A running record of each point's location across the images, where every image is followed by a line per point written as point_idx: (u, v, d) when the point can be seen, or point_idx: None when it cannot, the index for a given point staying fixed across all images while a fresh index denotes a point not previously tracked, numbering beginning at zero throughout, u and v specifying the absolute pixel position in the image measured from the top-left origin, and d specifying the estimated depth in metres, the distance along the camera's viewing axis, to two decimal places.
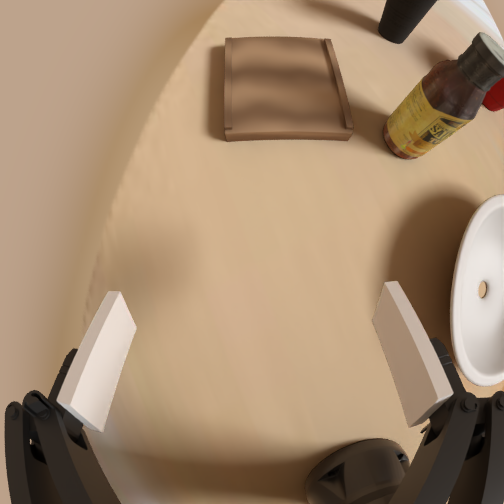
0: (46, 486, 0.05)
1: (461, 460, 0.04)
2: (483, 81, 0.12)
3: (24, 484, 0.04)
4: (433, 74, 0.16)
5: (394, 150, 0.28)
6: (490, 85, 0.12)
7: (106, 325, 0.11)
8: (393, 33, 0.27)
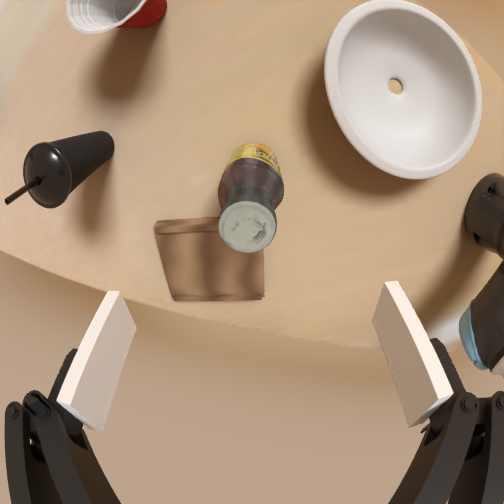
0: (46, 486, 0.05)
1: (461, 460, 0.04)
2: None
3: (24, 484, 0.04)
4: None
5: None
6: (271, 205, 0.21)
7: (106, 324, 0.11)
8: (108, 154, 0.32)
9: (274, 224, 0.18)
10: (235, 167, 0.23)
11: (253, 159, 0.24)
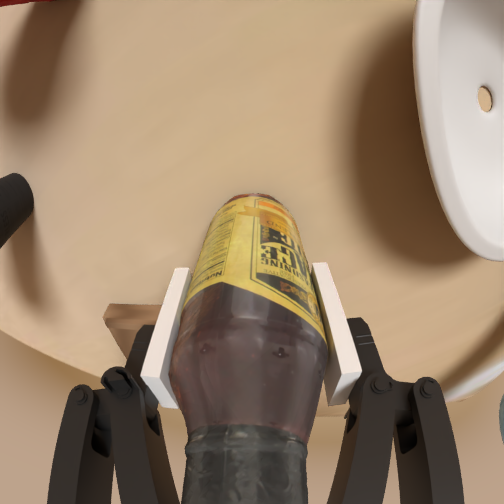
0: (97, 479, 0.06)
1: (388, 444, 0.06)
2: None
3: (74, 477, 0.05)
4: None
5: None
6: (305, 472, 0.06)
7: (181, 298, 0.12)
8: (21, 214, 0.17)
9: None
10: (203, 347, 0.08)
11: (256, 302, 0.09)
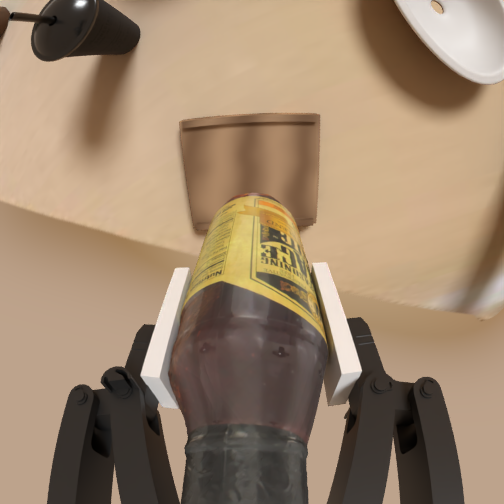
0: (97, 479, 0.06)
1: (388, 444, 0.06)
2: None
3: (74, 477, 0.05)
4: None
5: None
6: (305, 472, 0.06)
7: (181, 298, 0.12)
8: (133, 38, 0.21)
9: None
10: (203, 347, 0.08)
11: (256, 301, 0.09)
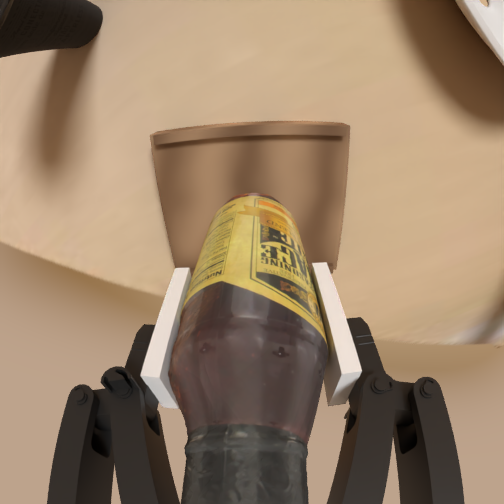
0: (97, 479, 0.06)
1: (388, 444, 0.06)
2: None
3: (73, 477, 0.05)
4: None
5: None
6: (305, 472, 0.06)
7: (181, 298, 0.12)
8: (90, 24, 0.13)
9: None
10: (203, 347, 0.08)
11: (256, 301, 0.09)
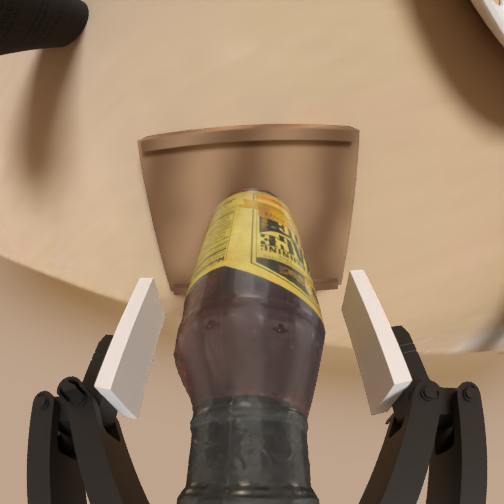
0: (68, 481, 0.05)
1: (429, 450, 0.05)
2: None
3: (46, 479, 0.04)
4: None
5: None
6: (306, 445, 0.07)
7: (142, 310, 0.12)
8: (73, 20, 0.11)
9: None
10: (208, 324, 0.08)
11: (257, 282, 0.10)
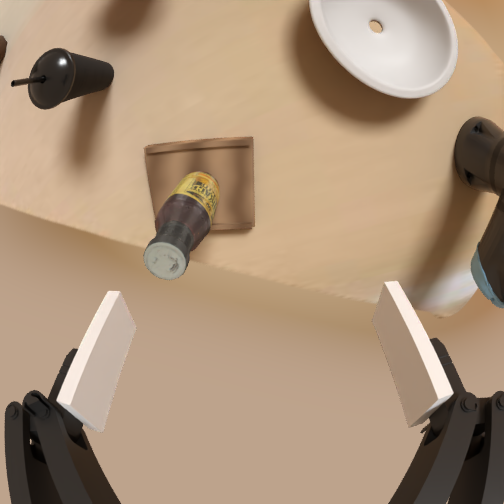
0: (46, 486, 0.05)
1: (461, 460, 0.04)
2: (190, 249, 0.26)
3: (24, 484, 0.04)
4: None
5: None
6: (190, 239, 0.25)
7: (106, 324, 0.11)
8: (107, 79, 0.29)
9: (184, 259, 0.23)
10: (166, 205, 0.27)
11: (183, 196, 0.28)
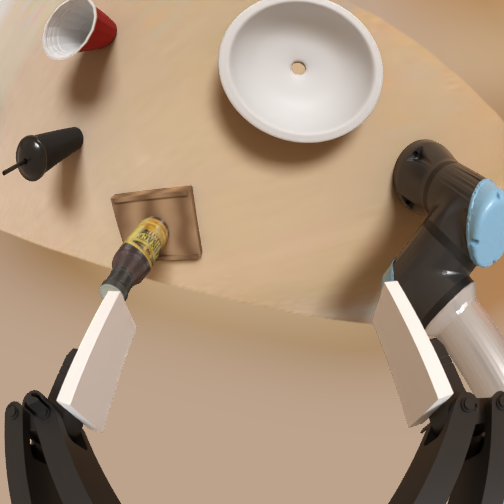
0: (46, 486, 0.05)
1: (461, 460, 0.04)
2: (131, 285, 0.36)
3: (24, 484, 0.04)
4: None
5: None
6: (129, 279, 0.35)
7: (106, 324, 0.11)
8: (77, 144, 0.40)
9: (122, 294, 0.33)
10: (117, 253, 0.37)
11: (129, 245, 0.38)
